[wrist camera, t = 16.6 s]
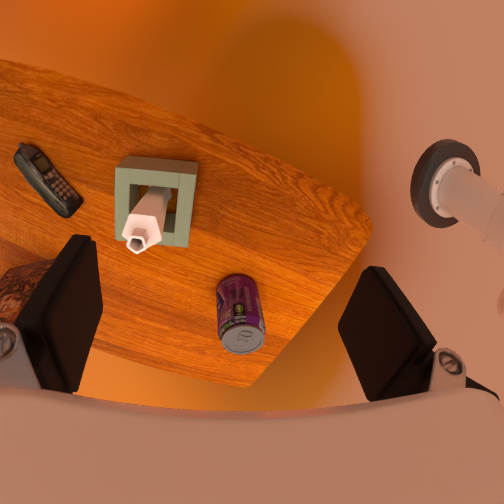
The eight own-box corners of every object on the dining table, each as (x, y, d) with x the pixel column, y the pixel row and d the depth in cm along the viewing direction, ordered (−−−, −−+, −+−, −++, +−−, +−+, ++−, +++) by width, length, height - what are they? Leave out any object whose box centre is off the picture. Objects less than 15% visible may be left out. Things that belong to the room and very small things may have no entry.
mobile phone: (75, 212, 37) (10, 141, 29) (64, 225, 37) (0, 156, 30) (87, 198, 41) (27, 133, 33) (76, 210, 41) (17, 147, 34)
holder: (198, 162, 40) (196, 174, 35) (190, 227, 45) (187, 247, 40) (127, 155, 38) (115, 167, 33) (125, 220, 43) (115, 240, 38)
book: (68, 255, 45) (6, 370, 24) (80, 281, 48) (31, 397, 27) (8, 268, 44) (-53, 363, 23) (20, 291, 47) (-32, 387, 26)
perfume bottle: (168, 211, 43) (150, 270, 31) (141, 200, 42) (112, 254, 29) (180, 185, 42) (165, 235, 29) (152, 172, 40) (125, 218, 27)
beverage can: (224, 268, 50) (228, 319, 40) (263, 278, 52) (275, 329, 42) (210, 299, 53) (212, 351, 43) (247, 308, 55) (256, 359, 45)
